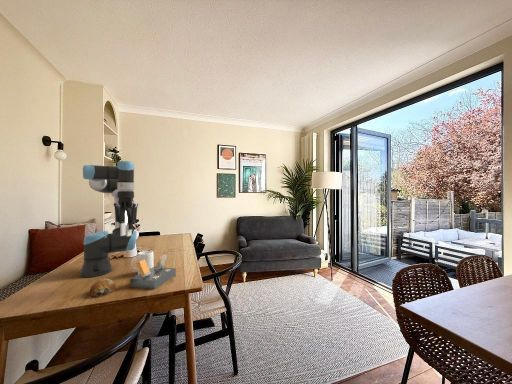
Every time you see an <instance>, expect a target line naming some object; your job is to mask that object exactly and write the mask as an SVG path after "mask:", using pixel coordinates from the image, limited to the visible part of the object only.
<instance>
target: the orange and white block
mask: <svg viewBox="0 0 512 384" xmlns="http://www.w3.org/2000/svg"><path fill="white" fill-rule="evenodd" d="M136 266H137V268H139V271H140V274H141V277H142V278H144V277H146V276H147V275H149V274H151V272H150V271H149V268H148V266H147V263H146V260H145V259H144V260H142V261H139V262H138V261H137V262H136Z"/></svg>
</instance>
